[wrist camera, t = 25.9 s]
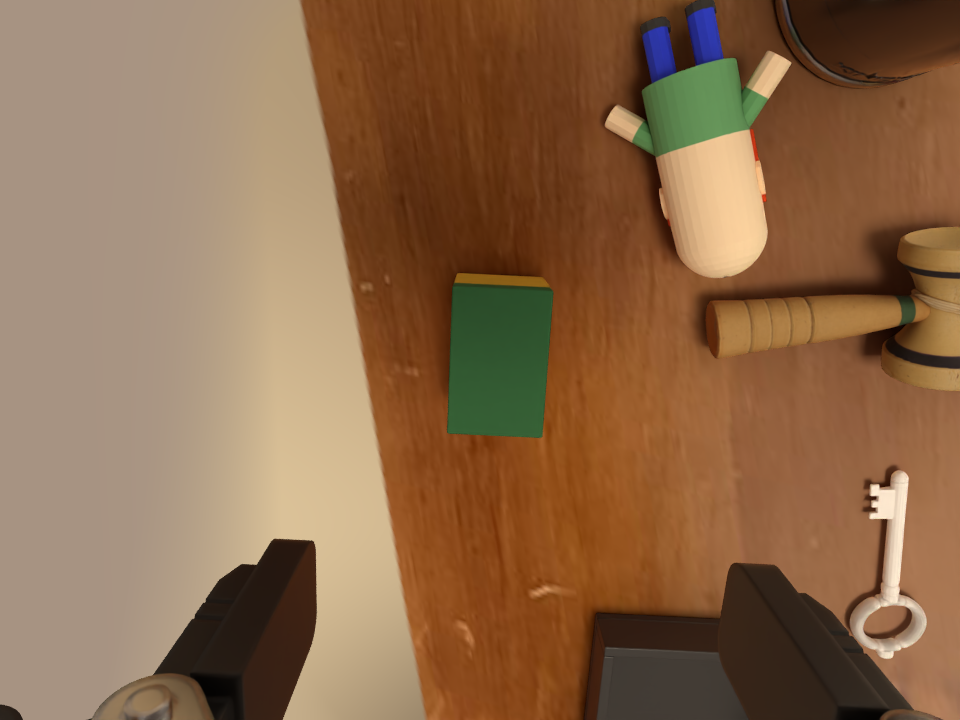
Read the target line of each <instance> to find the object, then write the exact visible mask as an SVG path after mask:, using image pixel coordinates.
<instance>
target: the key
mask: <svg viewBox="0 0 960 720" xmlns="http://www.w3.org/2000/svg"><path fill="white" fill-rule="evenodd" d="M908 480H909V478H908V476H907V474H906V473H905V472H904V471H902V470H897V471H895V472H894V473H893V474H892V475H891V480H890V486H889V487H882V488H879V484H870V493H869V495H870V496H877V499H876V500H871V507H876V511H875V512H869V519H888V520H887V531H886V542H885V553H884V564H883V575H882V579H883V582H882V583H881V594H877V595H875V597H874V598H873V597H869V598H867V599H865V600H864V601H862V602H861V603H860V604H859V605H857V606H856V608H855V609H854V610H853V612H852V614H851V617H850V628H851V631H852V633H853V635H854V636H855V638H856V639H857V640H858V641H859V642H860V643H861V644H862V645H864V646H866V647H868V648H870V649H875V650H876V653H877V654H878V655H879V656H880V657H882V658H885V659H890V658H892V657H893V652H894V651H898V650H901V647H903V648H906V647H909V646H910V645H912V644H914V643H915V642H916V641H917V640H918V639H919V638H920V637H921V636H922V634H923V633H924V631H925V628H926V624H927V623H926V616H925V613H924V611H923V609H922V608H921V606H920V605H919V604H918V603H917V602H916V601H914V600H913V599H911V598H909V597H907V596H904V595H900V594H899V591H900V588H899V586H898V584H899V582H900V570H901V559H902V547H903V535H904V523H905V512H906V501H907V490H908ZM890 605H900V606H905V607H907V608H909V609H910V610H911V612H912V620H911V623H910V625H909V626H908V627H907V628H906V629H905V630H904V631H903V632H902V633H900V634H898V635H897V636H895V638H887V639H875V638H874V639H872V638H870V637H868V636H866V635H865V633H864V631H863V626H864V622H865V620H866V619H867V617H868V616H869V615H870V614H871V613H873V612H874V611H876V610H877V609H879V608H880V606H883V607H886V606H890Z"/></svg>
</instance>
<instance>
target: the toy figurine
mask: <svg viewBox="0 0 960 720" xmlns="http://www.w3.org/2000/svg"><path fill="white" fill-rule="evenodd" d="M685 13H686V18H687V23H688V28H689V33H690V38H691V43H692V48H693V53H694V58H695V63H696V66H695V67H692V68H689V69H686V70H683V71H680V72H678V73H677V71H676V66H675V61H674V56H673V52H672V47H671V42H670V37H669V33H670V32H671V25H670V21H669V20H668V19H667V18H666V17H658V18H654V19H652V20H649V21H647V22H645V23H644V24H642V25H641V26H640V30H641V34H642V39H643V44H644V48H645V53H646V58H647V63H648V67H649V72H650V77H651V82H652V84H651V85H649V86H647V87H646V88H644V89H643V90H642V96H643V101H644V105H645V110H646V115H647V119H648V121H646V120H644V119H643V118H641V117H639V116H637V115H635V114H634V113H632V112H630V111H628V110H627V109H625V108H623V107H621V106H619V105H617V106H615V107H614V108H613V110H612V111H611V112H610V114H609V116H608V118H607V120H606V123H605V127H606V128H607V129H609V130H611V131H612V132H614V133H616V134H618V135H619V136H621V137H623V138H624V139H626V140H628V141H630V142H631V143H633V144H635V145H637V146H638V147H640V148H642V149H644V150H645V151H647V152H649V153H651V154H652V155H654V156H655V157H656V161H657V166H658V170H659V175H660V180H661V184H662V188H660V189H659V195H660V200H661V206H662V210H663V213H664V217H665V218H666V219H667V221H668V225H669V226H671V230H672V234H673V238H674V242H675V246H676V250H677V254H678V256H679V257H680V259H681V261H682V262H683V263H684V264H685V265H686V266H687V267H688V268H689V269H691V270H692V271H694V272H695V273H697V274H700V275H702V276H706V277H710V278H725V277H728V275H729V277H730V276H733V275H736V274H738V273H740V272H742V271H744V270H745V269H747V268H748V267H749V266H751V265H752V264H753V263H754V262H755V261H756V259H757V258H758V257H759V256H760V254H761V252H762V251H763V249H764V246H765V243H766V240H767V233H768V231H767V225H766V219H765V212H764V206H763V202H766V201H767V200H766V195H765V194H766V191H765V184H764V178H763V173H762V168H761V163H760V160H759V159H758V154H757V148H756V143H755V137H754V132H753V129H751V130H750V129H749V128H750V126H751V125H752V123H753V122H754V120H755V119H756V117H757V116H758V114H759V113H760V111H761V109H762V108H763V106H764V105H765V103H766V102H767V100H768V99H769V97H770V96H771V94H772V93H773V91H774V90H775V88H776V87H777V85H778V83H779V82H780V80H781V79H782V77H783V76H784V74H785V73H786V71H787V70H788V68H789V67H790V65H791V64H792V63H791V62H790V61H788V60H787V59H785V58H783V57H781V56H779V55H777V54H775V53H773V52H771V51H767V52H766V54H765V55H764V57H763V58H762V60H761V62H760V63H759V65H758V66H757V68H756V69H755V71H754V73H753V74H752V76H751V77H750V79H749V81H748V82H747V84H746V85H745V87H744V89H743V90H742V87H741V81H740V76H739V71H738V65H737V60H736V59H735V58H726V59H724V58H723V53H722V48H721V43H720V37H719V32H718V27H717V22H716V16H715V14H716V6H715V2H714V0H697V1H695V2H692V3H691V4H689V5H688V6H686V8H685Z"/></svg>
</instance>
